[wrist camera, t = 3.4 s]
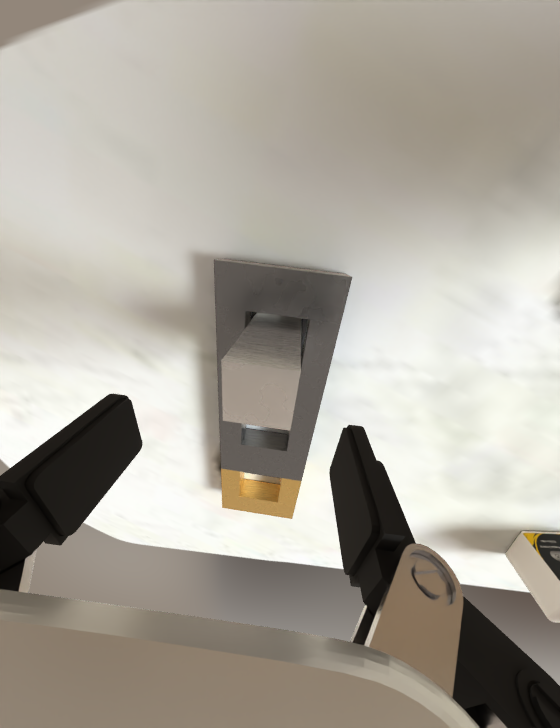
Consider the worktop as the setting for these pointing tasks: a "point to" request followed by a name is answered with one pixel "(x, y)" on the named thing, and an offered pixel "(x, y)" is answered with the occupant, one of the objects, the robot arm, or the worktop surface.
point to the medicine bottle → (539, 568)
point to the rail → (324, 313)
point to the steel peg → (263, 372)
